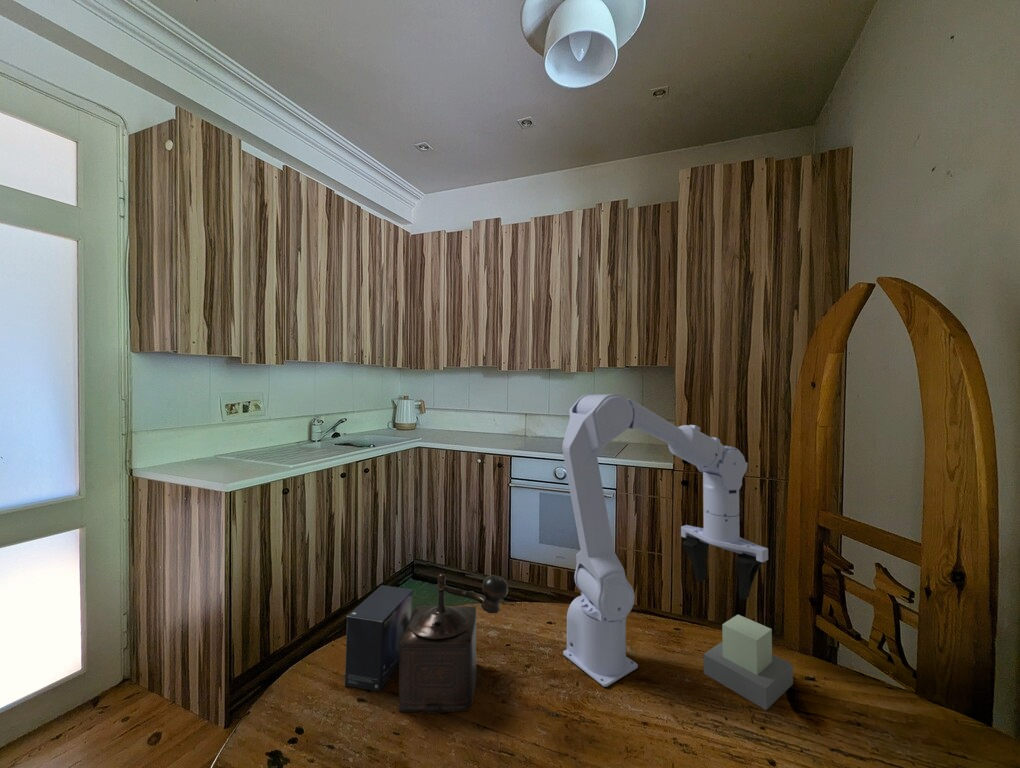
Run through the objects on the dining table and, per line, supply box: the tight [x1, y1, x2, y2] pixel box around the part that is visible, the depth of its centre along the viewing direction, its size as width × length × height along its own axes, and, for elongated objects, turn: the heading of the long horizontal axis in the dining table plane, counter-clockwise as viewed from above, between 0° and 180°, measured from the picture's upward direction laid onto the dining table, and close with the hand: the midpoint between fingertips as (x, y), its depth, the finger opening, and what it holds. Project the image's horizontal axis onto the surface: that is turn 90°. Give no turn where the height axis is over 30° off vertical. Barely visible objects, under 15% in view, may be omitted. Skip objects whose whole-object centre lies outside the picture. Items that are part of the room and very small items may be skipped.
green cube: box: [721, 614, 773, 675], centre depth 62 cm, size 5×5×5 cm
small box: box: [344, 584, 413, 692], centre depth 65 cm, size 11×6×10 cm, turn 168°
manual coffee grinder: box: [398, 573, 509, 714], centre depth 60 cm, size 16×11×18 cm
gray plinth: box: [703, 641, 794, 711], centre depth 62 cm, size 9×9×3 cm
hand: (721, 588), depth 72 cm, fingers open, 7 cm apart
